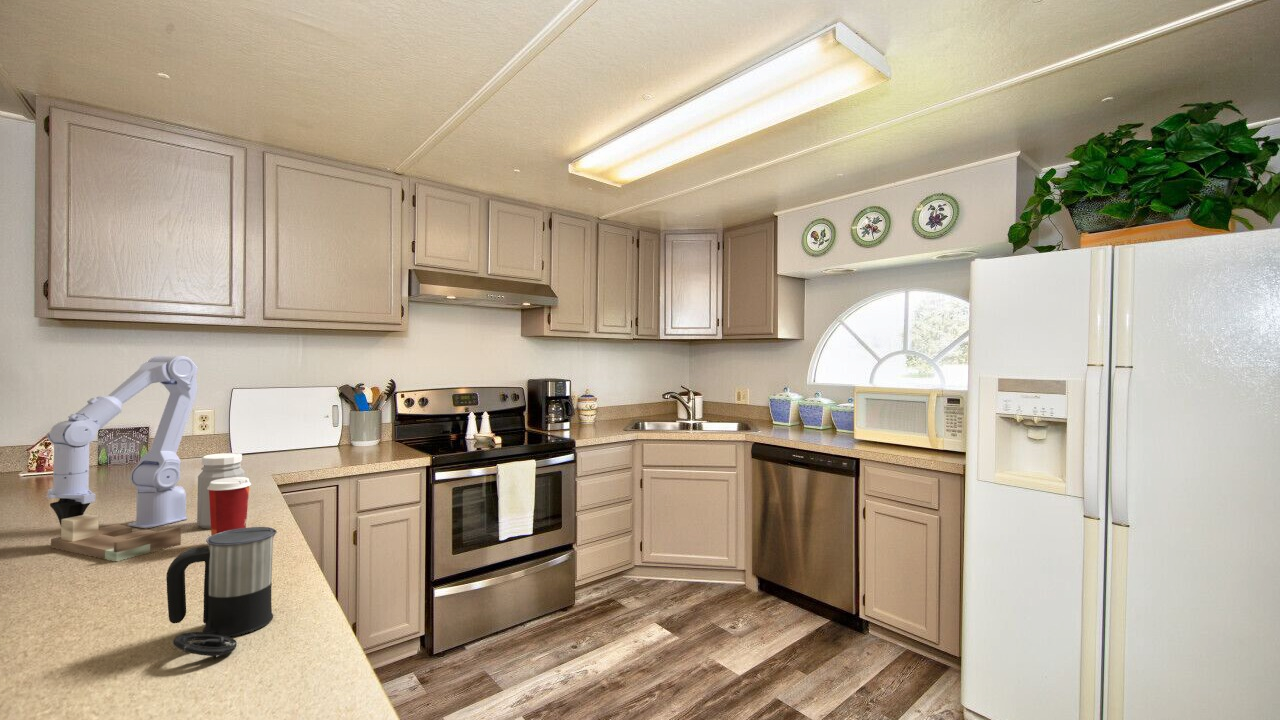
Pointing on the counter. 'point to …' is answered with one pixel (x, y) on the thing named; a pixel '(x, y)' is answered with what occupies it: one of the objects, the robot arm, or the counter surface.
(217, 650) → the milk frother
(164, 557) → the counter surface
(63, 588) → the counter surface
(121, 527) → the deck
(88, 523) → the block
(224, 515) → the coffee cup
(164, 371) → the robot arm
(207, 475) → the jar
